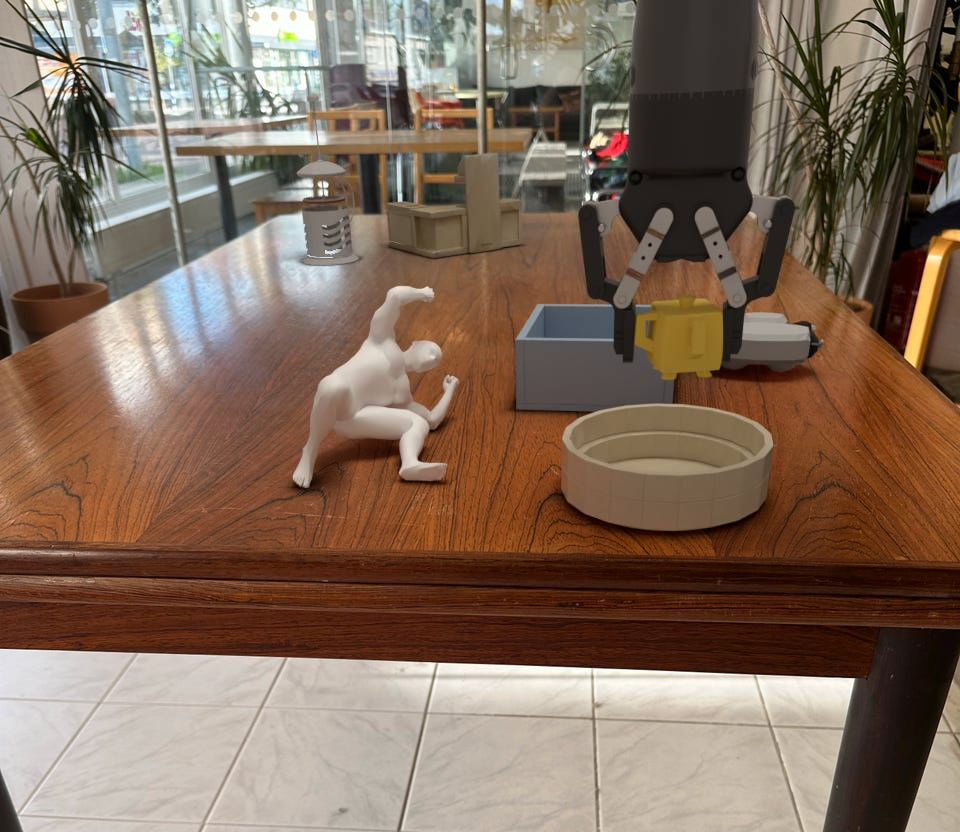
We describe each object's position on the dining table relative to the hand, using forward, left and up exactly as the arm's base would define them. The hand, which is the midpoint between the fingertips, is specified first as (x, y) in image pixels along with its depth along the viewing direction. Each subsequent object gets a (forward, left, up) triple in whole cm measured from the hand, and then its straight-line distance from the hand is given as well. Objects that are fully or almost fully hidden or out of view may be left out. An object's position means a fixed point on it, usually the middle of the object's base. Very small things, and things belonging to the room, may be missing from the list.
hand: (675, 359), depth 66 cm
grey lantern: (+59, -97, -10) cm, 114 cm away
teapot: (0, 0, -1) cm, 1 cm away
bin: (+7, -26, -10) cm, 29 cm away
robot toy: (-9, -37, -10) cm, 40 cm away
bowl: (0, 0, -10) cm, 10 cm away
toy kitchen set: (+40, -109, -10) cm, 117 cm away
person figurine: (+24, -7, -10) cm, 27 cm away
